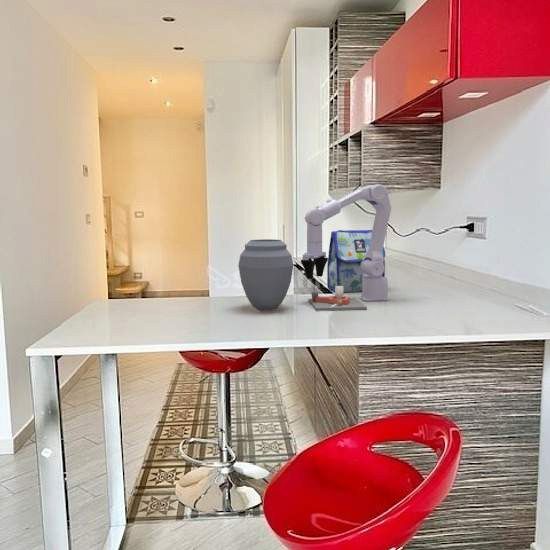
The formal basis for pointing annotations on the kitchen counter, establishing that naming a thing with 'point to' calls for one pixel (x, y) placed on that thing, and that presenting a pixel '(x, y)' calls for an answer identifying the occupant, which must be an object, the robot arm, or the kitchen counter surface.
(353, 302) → the station
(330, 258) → the lunch bag
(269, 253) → the vase
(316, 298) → the square frame with handle
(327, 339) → the kitchen counter surface
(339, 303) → the tan tapered cylinder
